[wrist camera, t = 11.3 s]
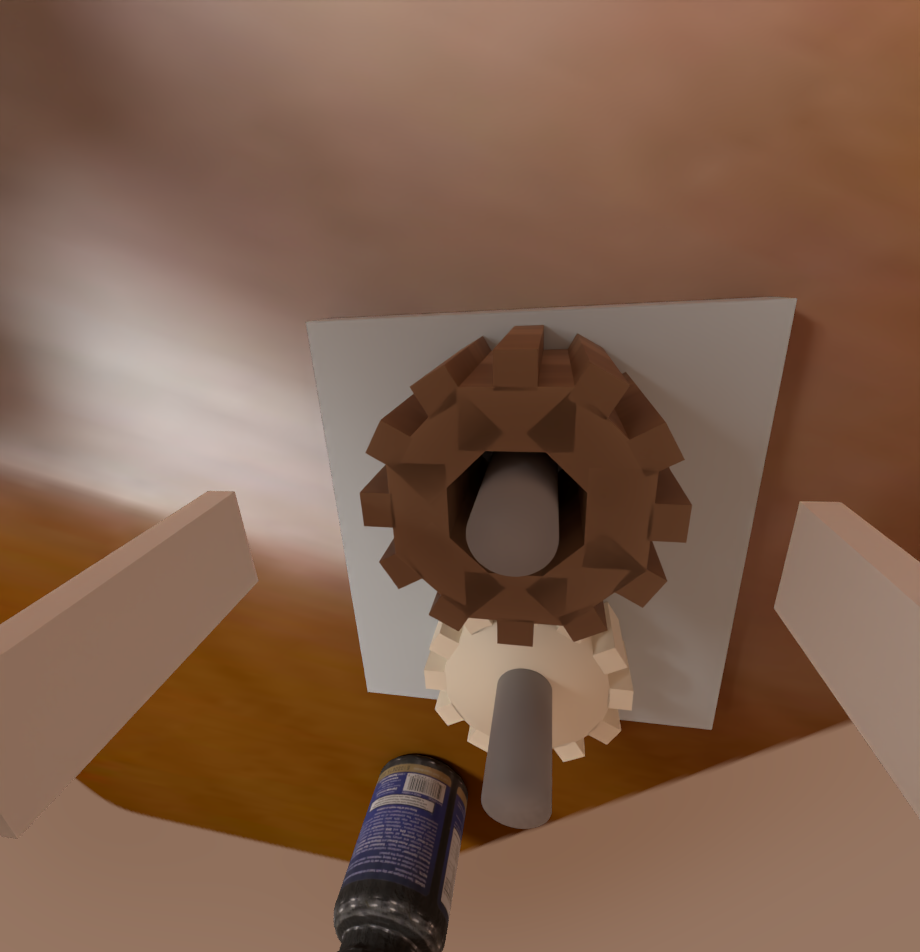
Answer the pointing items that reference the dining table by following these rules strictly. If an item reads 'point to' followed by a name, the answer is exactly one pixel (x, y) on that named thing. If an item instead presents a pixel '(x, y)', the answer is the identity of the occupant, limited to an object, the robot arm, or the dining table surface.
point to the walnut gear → (579, 483)
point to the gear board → (682, 387)
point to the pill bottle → (404, 861)
